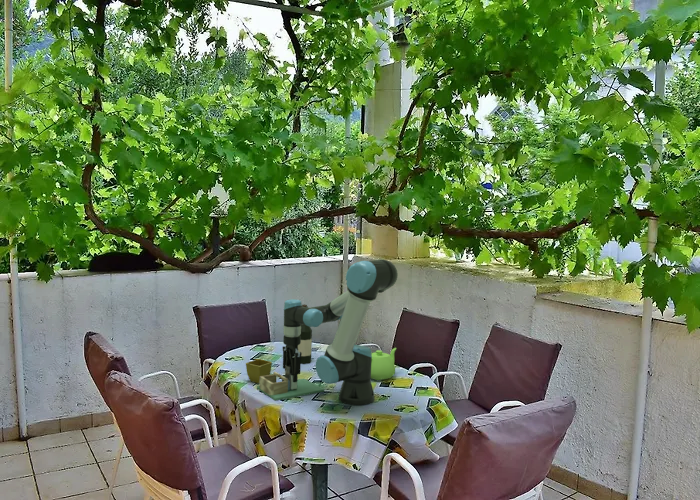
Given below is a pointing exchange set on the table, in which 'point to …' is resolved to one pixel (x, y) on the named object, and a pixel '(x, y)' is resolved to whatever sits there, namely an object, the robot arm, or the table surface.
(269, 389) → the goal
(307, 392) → the board
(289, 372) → the block
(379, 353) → the teapot
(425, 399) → the table surface
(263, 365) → the flower pot
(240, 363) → the table surface
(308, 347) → the wine bottle
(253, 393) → the table surface
